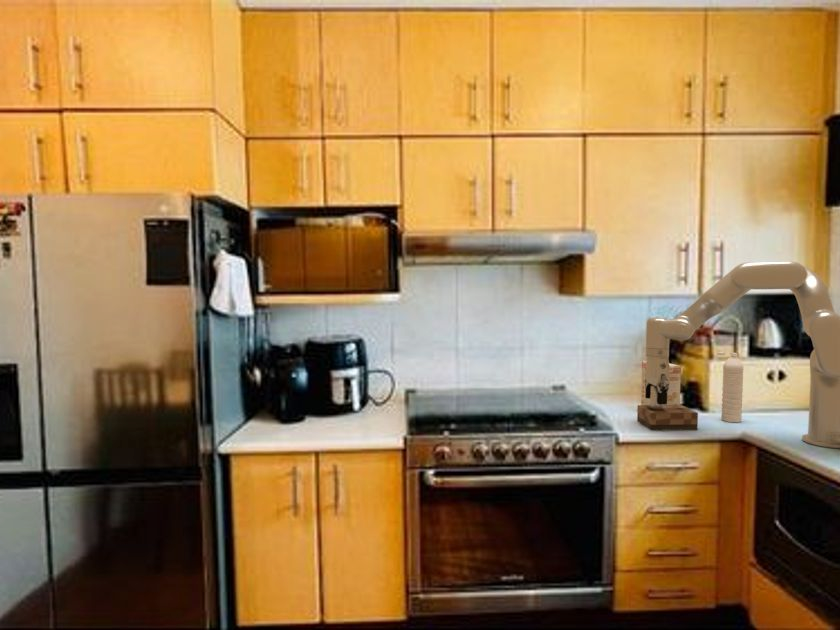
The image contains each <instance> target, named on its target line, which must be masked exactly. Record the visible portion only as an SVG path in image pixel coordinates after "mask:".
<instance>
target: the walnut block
mask: <svg viewBox="0 0 840 630" xmlns="http://www.w3.org/2000/svg"><path fill="white" fill-rule="evenodd" d="M636 414H637V417H636V418H637V419H636V421H637V422H638V424H641V425H642V426H643V427H645V428H647V429H648V430H650V431H698V425H699V424H698V423H699V421H698V420H699V419H698V418H699V412H696V410H693V409H691V408H688V407H686V406H684V405H682V404H680V405H662V411H651V410H650V405H641V404H638V405H637V413H636Z"/></svg>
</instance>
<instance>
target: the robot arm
mask: <svg viewBox="0 0 840 630" xmlns="http://www.w3.org/2000/svg"><path fill="white" fill-rule="evenodd" d="M751 290H790V292H792V293H793V295H794V296H795V298H796V302H797V304H798V307H799V311H800V315H801V319H802V324H803V329H804V332H805V333H806V335H807V336H808V337H810V339H811V342H812V347H813V350H812V351H811V353H810V355H809V356H810V357H809V371H810V372H809V373H810V379H809V380H810V385H809V389H810V390H809V404H808V405H809V406H808V427H807V433H806V434H802V435H801V436H802V437H801V440H802V441H803V442H805V443H807V444H810V445H813V446H819V447H823V448H824V447H825V448H832V449H833V448H834V449H840V315H839V314H838V313H836V312H835V309H834V307H833V302H832V300H831V296H830V294H829V291H828V289H827V286H826V284H825V281H824V280H823V279H822V278H821V277H820V276H819V275H818V274H817V273H816V272H815V271H813V270H811V269H810V268H808V267H806V266H804V265H803V264H801V263H799V262H797V261H771V262H768V261H767V262H743V263H740V264H738V265H736V266H735V267H734V268H732V269H731V270H730V271H729V272H727V274H726V275H724V276H723V277H722V278H721V279H719V280H718V281H717V282H716V283H715V284H713V285H712V286H711V287H710V288H709V289H708V290H706V291H705V292H704V293H703V294H701V295H700V297H699V298H698V299H697V300H696V301H694V302H693V303H692V304H691V305H689V307H687V308H685V310H684V311H682V312H681V313H680V314H679V315H678V316H676V317H675V318H672V319H671V318H670V319H668V318H666V317H649V318H648V319H647V320H646V325H645V326H646V329H645V333H646V334H645V357H646V360H645V361H646V372H645V382H646V384H645V386H646V393H645V398H650V395H651V385H654V386H657V388H658V391H659V393H657V404H667V393H668V389H669V388H668V387H669V385H670V367H669V363H670V360H669V359H670V358H669V357H670V340H671V339H672V340H676V341H687V340H689V339H691V337H692V336H693V335H694V332H695V331H696V330H698V329H699V328H700V327H701V326H702V325H704V324H705V323H706V322H708V321H709V320H710V319H712V318H714V317H715V316H717V315H720V314H722V313H723V312H724V311H726V310H727V309H729V308H730V307H731V306H732V305H734V304H735V303H736V302H737V301H739V299H741V298H742V297H743V296H744V295H746V294H747V293H749V292H750V291H751ZM661 387H662V388H661Z"/></svg>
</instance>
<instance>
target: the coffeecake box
mask: <svg viewBox="0 0 840 630" xmlns="http://www.w3.org/2000/svg"><path fill="white" fill-rule="evenodd" d="M669 367H670V385H669V387H668V388H669V389H668V393H667V404H662V405H681V376H682V375H681V374H682V373H681V372H682V370H681V369H682V365H678V364H674V363H670V362H669ZM645 372H646V360H642V362H641V393H640V394H641V395H640V397H641V400H640V405H650V398H645V393H646V386H645V384H646V382H645Z"/></svg>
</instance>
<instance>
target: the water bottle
mask: <svg viewBox="0 0 840 630" xmlns="http://www.w3.org/2000/svg"><path fill="white" fill-rule="evenodd" d="M725 354H726V352H725V351H717V353H716V355H718V356H725ZM722 368H723V369H722V374H723V375H722V388H721V389H722V394H721V395H722V398H721V402H722V403H721V420H722V421H724V422H729V423H741V422H742V419H743V418H742V413H743V410H742V408H743V393H744V392H743V391H744V390H743V386H744V385H743V384H744V383H743V382H744V381H743V380H744V364H743V363H742V361H741V360H740V359H739V357H738V352H730V353H729V357H728V358H727V359H726V361H725V362H724V364H723V366H722Z"/></svg>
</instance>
